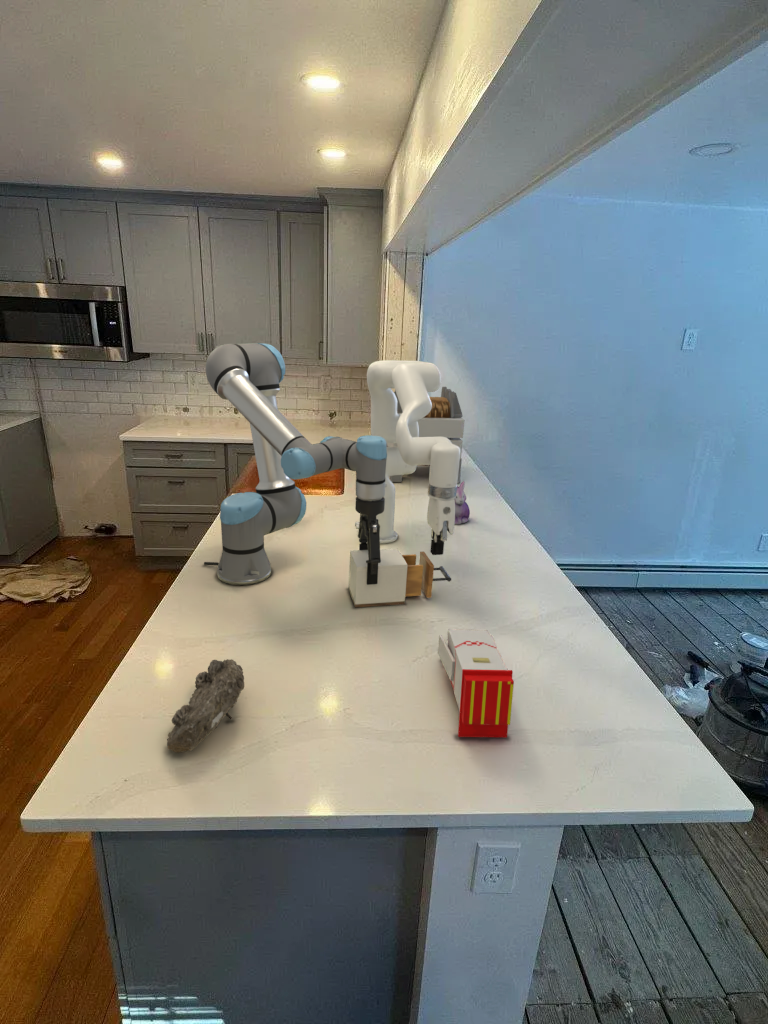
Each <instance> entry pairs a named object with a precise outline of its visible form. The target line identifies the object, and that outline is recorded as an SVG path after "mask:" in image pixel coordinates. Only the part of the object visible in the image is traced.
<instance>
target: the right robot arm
mask: <svg viewBox="0 0 768 1024" xmlns="http://www.w3.org/2000/svg"><path fill="white" fill-rule="evenodd" d="M366 384H367V389H368V392H369V393H368V394H369V397H370V435H372V436H380V437H382V438H384V439H385V440H386V443H397V446H398V447H387V460H386V472H385V484H387V487H385V496H384V499H385V506H384V512H383V513H381V514H378V515H377V516H376V519H378V523H379V525H380V544H389V543H393V542H395V541H397V540H398V537H399V534H398V532H397V531H396V530H395V528H394V527H395V510H396V509H395V508H396V507H395V506H396V491H397V490H396V486H395V484H394V482H391V480H390V478H389V476H394V475H402V476H405V475H411V474H413V473H415V471H416V470H417V469H418V468H417V467H419V466H418V465H428V466H429V465H430V466H429V474H428V484H427V485H428V487H427V496H428V506H427V513H426V521H427V522H426V523H427V524H428V526H429V528H430V529H431V531H430V532H431V533H430V538H431V539H430V550H429V551H430V554H431V555H432V556H442V555H444V549H445V548H444V547H445V542H447V541H448V533H449V535H452V536H453V535H454V534H455V525H456V524H455V500H454V499H455V498H456V492H457V486H458V483H457V482H458V472H459V462H460V448H459V447H458V446H457V445H454V444H452V443H451V441H450V440H449V439H448V438H446V437H419V426H418V422H417V421H418V420H420V419H422V418H423V417H425V416H426V415H427V414H428V413H429V412H430V411H431V408H432V403H431V400H430V398H429V397H430V395H429V393H434V392H436V391H438V390H440V389H439V388H440V387H441V384H442V374H441V371H440V369H439V367H438V366H437V365H436V364H435V363H433V362H427V361H422V360H404V359H403V360H399V359H398V360H397V359H384V360H376V361H373V362H372V363H370V364H369V366H368V367H367V370H366ZM393 389H394V391H393ZM395 391H396V394H397V397H398V400H399V403H400V406H401V408H402V411H403V413H402V414H398V413H397V403H398V402H397V398H396V395H395V394H394V392H395ZM354 527H355V529H356V530H359V521H355V522H354Z"/></svg>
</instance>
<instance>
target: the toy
mask: <svg viewBox="0 0 768 1024" xmlns="http://www.w3.org/2000/svg"><path fill="white" fill-rule="evenodd" d="M446 640H447V643H446V641H445V639H444V636H443V635H442V634H439V637H438V646H437V656H438V657H439V659H440V661H441V663H442V666H443V668H444V670H445V672H446V674H447V677H448V679H449V681H450V684H451V687H452V690H453V693H454V697H455V701H456V705H457V708H458V711H459V714H458V715H459V716H458V730H457V731H458V732H457V737H458V738H508V731H509V726H510V725H511V717H512V707H513V697H514V696H513V695H514V684H515V680H514V679H513V673H514V671H513V670H512V669H508V667H507V665H506V662H505V661H504V659H503V658H502V655H501V653H500V651H499V649H498V647H497V643H496V639H495V637H494V635H493V634H491V632H490V631H489V629H467V628H466V629H465V628H463V629H461V628H460V629H459V628H448V630H447V639H446Z"/></svg>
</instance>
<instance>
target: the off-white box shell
mask: <svg viewBox="0 0 768 1024" xmlns="http://www.w3.org/2000/svg"><path fill="white" fill-rule="evenodd" d="M402 555H403V554H402V553H401V551H400V550H399V548H380V560H381V562H380V563H378V582H377V584H371V585H367V563H366V561H367V560H369V559H368V550H359V549H355V550H353V549H352V550H349V569H348V570H349V571H348V591H349V594H350V597H351V599H352V603H353V605H354V608H367V607H368V608H369V607H382V606H398V605H406V597H405V593H406V579H407V563H406V561H405V560H404V558H403V556H402Z"/></svg>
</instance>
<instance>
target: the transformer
mask: <svg viewBox="0 0 768 1024" xmlns="http://www.w3.org/2000/svg"><path fill="white" fill-rule="evenodd" d="M393 392H394V394H395V395H396V398H397V402H398V403H397V413H398V414H402V413H403V411H402V408H401V406H400V403H399V400H398V397H397V394H396V391H395V390H394V391H393ZM440 393H441V394H440V396H429V398H430V400H431V403H432V408H431V411H430V412H429V413H428V414H427V415H426V416H425V417H423V418H422V419H420V420H418V421H417V422H418V426H419V437H446V438H448V439H449V440H450V441H451V443H452V444H454V445H457V446H458V447H459V448H460V462H459V472H458V482H457V484H459V483H461V472H462V461H463V460H462V453H463V442H464V441H463V440H462V439H463V438H464V431H465V430H464V429H465V419H464V418H463V411H462V408H461V405H460V402H459V398H458V395H457V392H455V391H453V390H452V389H451V388H447V386H442V387H441V392H440ZM386 446H387V447H398V446H397V443H386ZM417 467H430V465H418V466H417ZM389 479H390V480H391V482H392V483H402V482H403V475H394V476H389Z"/></svg>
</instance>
